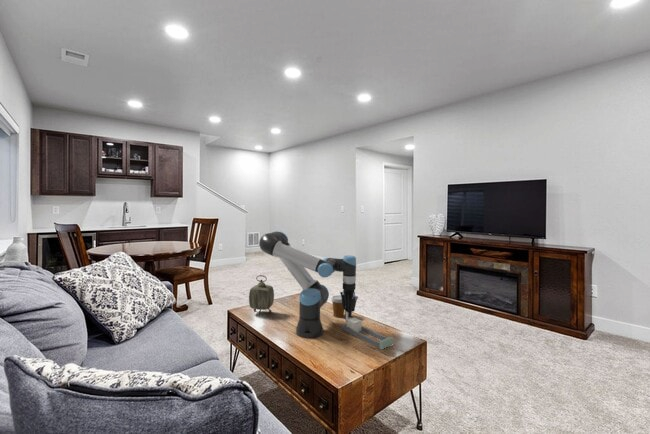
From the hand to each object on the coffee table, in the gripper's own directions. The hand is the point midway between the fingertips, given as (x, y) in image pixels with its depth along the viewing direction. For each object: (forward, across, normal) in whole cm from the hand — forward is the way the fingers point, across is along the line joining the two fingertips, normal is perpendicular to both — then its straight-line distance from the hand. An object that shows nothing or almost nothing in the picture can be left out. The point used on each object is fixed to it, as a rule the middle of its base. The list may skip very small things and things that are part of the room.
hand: (348, 322), depth 183 cm
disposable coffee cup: (+4, +18, -8) cm, 20 cm away
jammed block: (+3, -5, 0) cm, 6 cm away
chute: (+3, -14, 0) cm, 14 cm away
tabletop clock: (+4, +50, +31) cm, 59 cm away
